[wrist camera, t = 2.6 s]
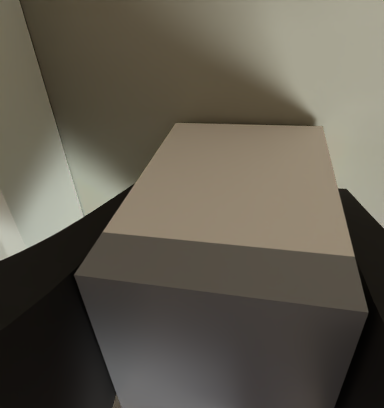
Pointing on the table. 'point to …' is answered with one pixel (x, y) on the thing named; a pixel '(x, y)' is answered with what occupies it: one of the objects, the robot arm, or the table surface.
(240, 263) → the tan and grey block
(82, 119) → the table surface
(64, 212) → the walled box
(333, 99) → the table surface
